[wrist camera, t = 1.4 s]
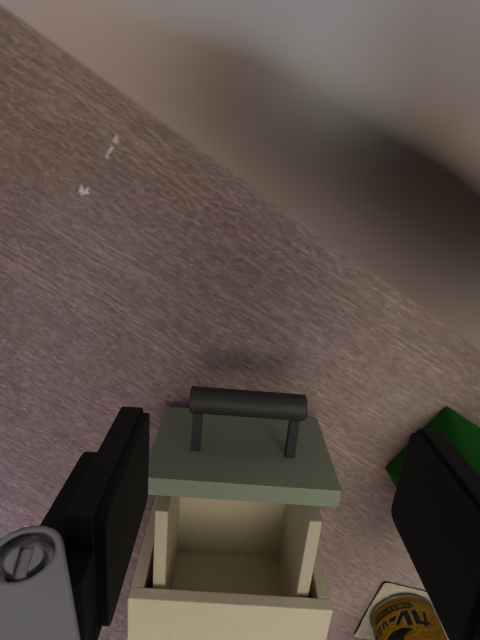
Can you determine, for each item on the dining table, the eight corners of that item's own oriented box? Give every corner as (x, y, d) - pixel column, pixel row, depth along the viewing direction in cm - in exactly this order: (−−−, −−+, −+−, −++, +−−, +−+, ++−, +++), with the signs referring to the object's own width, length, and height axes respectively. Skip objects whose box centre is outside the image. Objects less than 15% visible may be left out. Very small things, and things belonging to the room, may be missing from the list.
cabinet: (157, 486, 33) (127, 598, 24) (307, 496, 34) (333, 611, 24) (153, 612, 38) (127, 747, 28) (285, 620, 38) (301, 755, 29)
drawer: (168, 353, 28) (143, 410, 21) (325, 365, 29) (355, 426, 21) (161, 545, 34) (139, 644, 26) (293, 553, 34) (308, 653, 27)
